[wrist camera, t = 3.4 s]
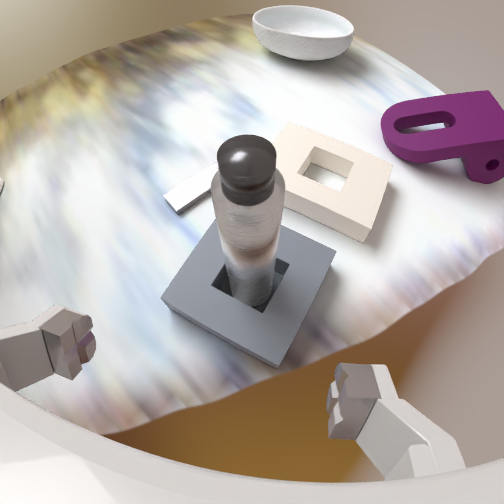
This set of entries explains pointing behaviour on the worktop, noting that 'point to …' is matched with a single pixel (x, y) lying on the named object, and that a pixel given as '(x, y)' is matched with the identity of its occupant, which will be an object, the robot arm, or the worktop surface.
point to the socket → (239, 314)
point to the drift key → (191, 190)
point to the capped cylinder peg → (248, 214)
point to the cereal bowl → (302, 32)
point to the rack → (323, 197)
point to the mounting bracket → (450, 132)
